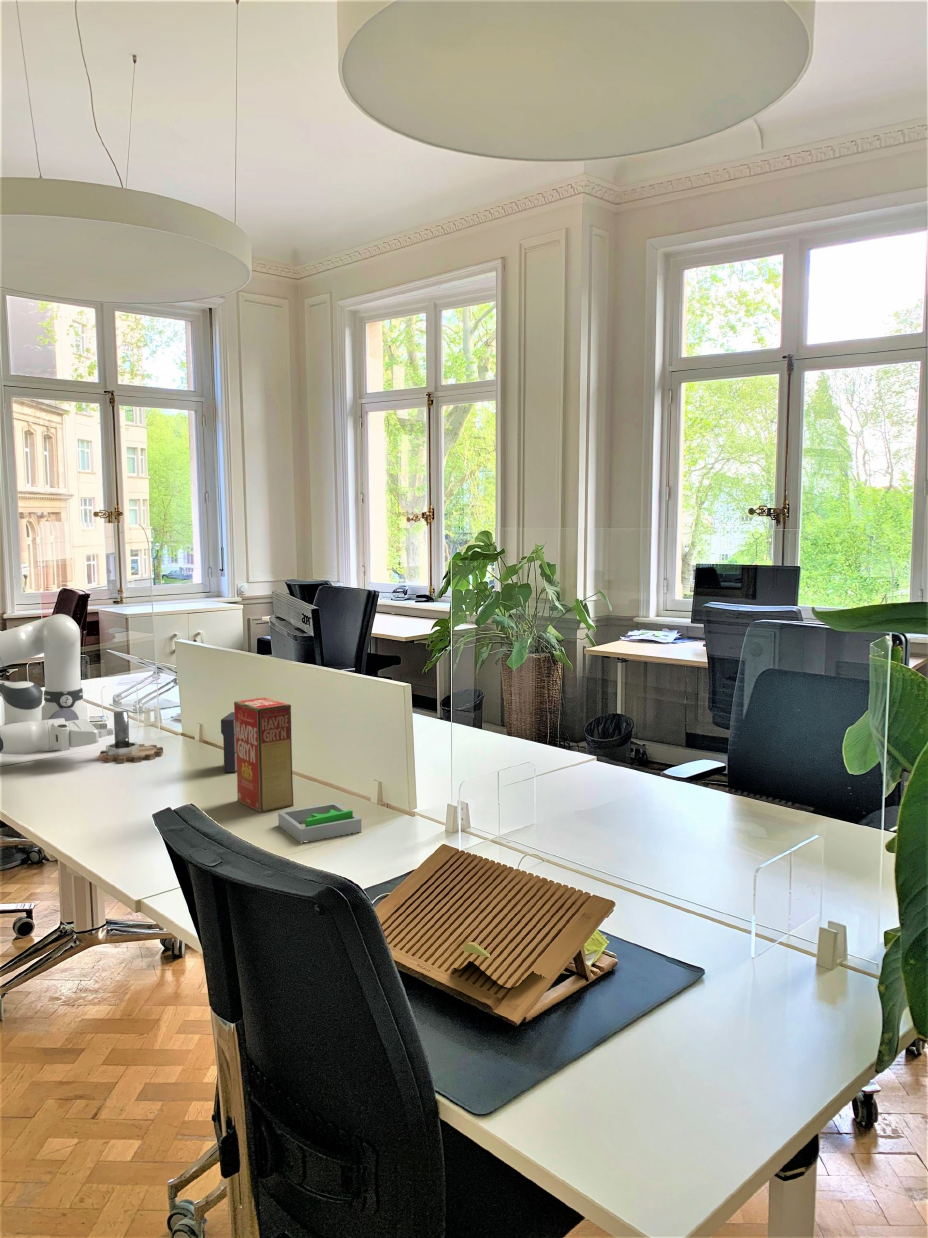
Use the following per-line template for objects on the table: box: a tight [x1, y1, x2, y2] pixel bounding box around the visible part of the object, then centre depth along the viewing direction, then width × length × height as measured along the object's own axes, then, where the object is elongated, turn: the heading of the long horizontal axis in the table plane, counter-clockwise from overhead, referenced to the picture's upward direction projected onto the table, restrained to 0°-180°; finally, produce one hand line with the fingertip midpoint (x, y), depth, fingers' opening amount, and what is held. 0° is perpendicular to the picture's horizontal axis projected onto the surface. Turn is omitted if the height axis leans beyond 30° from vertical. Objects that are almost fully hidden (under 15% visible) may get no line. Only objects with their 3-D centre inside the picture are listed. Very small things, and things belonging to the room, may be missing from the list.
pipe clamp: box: [304, 809, 354, 827], centre depth 196 cm, size 11×4×5 cm, turn 128°
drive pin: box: [113, 710, 130, 748], centre depth 264 cm, size 4×4×12 cm
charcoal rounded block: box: [220, 711, 237, 774], centre depth 251 cm, size 11×4×15 cm, turn 179°
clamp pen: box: [277, 802, 362, 843], centre depth 199 cm, size 14×14×3 cm
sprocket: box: [98, 741, 164, 764], centre depth 266 cm, size 18×18×4 cm
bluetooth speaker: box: [48, 708, 79, 722], centre depth 282 cm, size 23×9×10 cm, turn 17°
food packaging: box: [233, 697, 294, 813], centre depth 217 cm, size 13×9×25 cm
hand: (109, 728), depth 262 cm, fingers open, 8 cm apart
